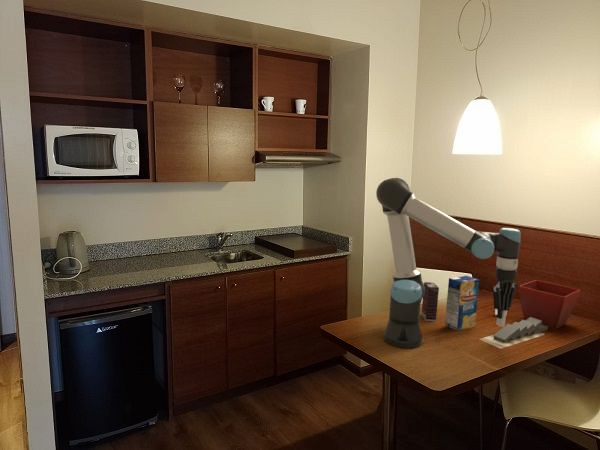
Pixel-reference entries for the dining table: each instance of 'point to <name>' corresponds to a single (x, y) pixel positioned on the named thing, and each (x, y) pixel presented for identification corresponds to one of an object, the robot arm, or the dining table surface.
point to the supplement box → (430, 301)
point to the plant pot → (548, 302)
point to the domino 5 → (540, 329)
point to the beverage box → (462, 302)
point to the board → (517, 340)
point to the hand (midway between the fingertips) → (500, 325)
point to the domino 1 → (506, 333)
